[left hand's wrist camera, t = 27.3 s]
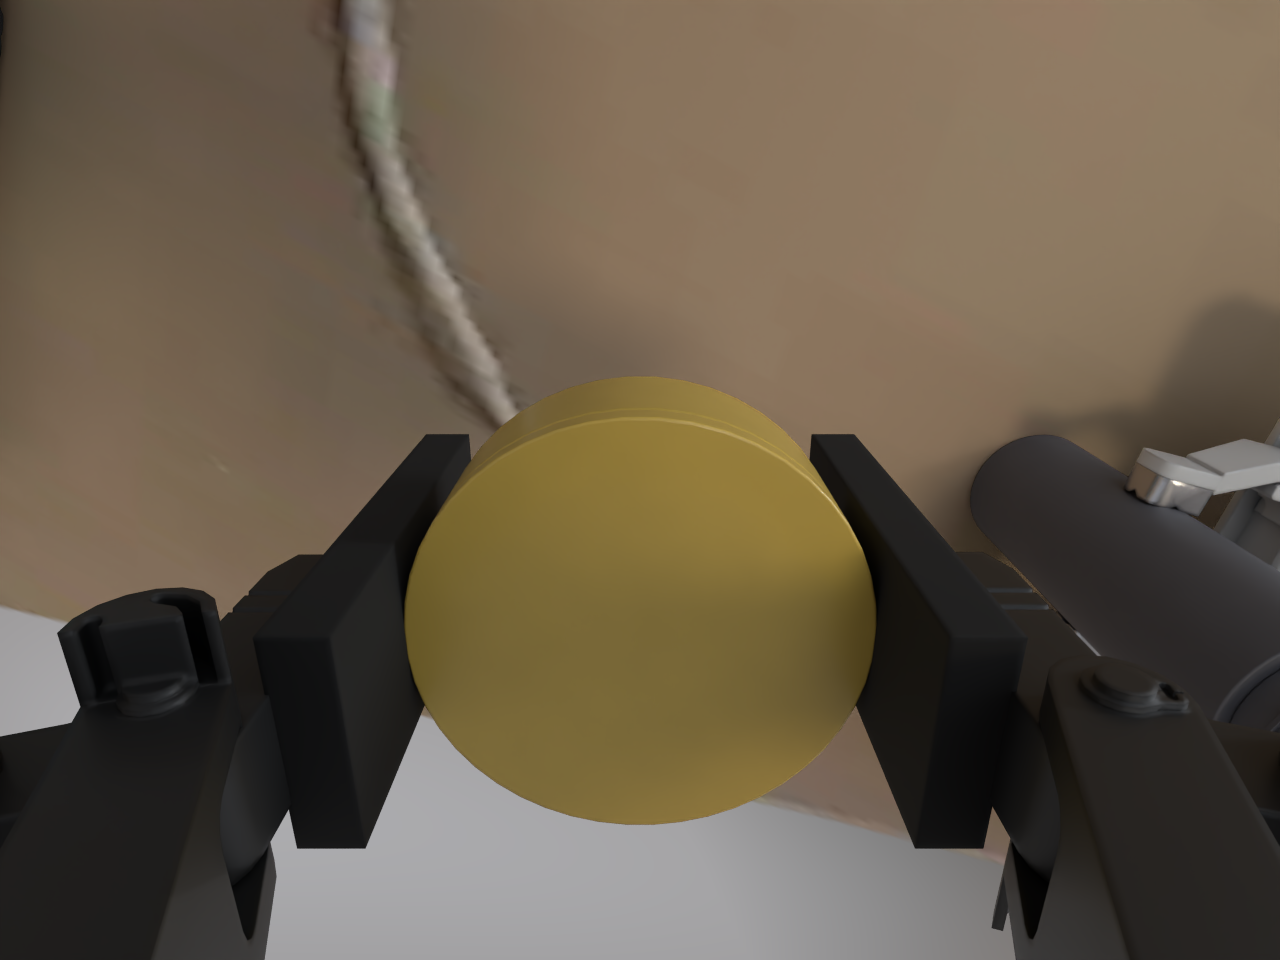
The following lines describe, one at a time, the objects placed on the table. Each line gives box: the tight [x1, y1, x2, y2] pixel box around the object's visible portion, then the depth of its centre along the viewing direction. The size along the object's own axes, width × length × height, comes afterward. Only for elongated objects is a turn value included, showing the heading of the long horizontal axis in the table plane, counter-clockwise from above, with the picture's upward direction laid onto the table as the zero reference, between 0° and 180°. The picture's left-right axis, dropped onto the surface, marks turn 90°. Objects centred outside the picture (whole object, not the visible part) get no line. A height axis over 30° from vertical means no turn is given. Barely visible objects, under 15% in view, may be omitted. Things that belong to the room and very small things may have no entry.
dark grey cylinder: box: [970, 435, 1280, 733], centre depth 25 cm, size 5×5×17 cm
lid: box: [404, 377, 877, 825], centre depth 11 cm, size 6×6×2 cm
